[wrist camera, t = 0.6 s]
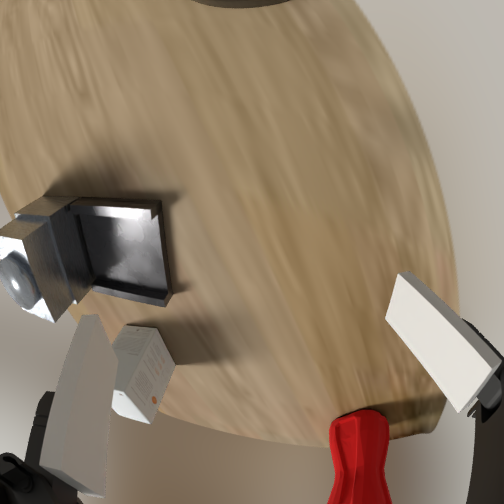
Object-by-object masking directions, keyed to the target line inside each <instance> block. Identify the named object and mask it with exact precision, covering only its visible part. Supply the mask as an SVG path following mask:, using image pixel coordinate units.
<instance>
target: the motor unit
mask: <svg viewBox="0 0 504 504" xmlns="http://www.w3.org/2000/svg"><path fill="white" fill-rule="evenodd" d="M14 214H15V219H14V220H12V221H11V222H9V223H8V224H7V225H5V226H4V227H2V228H1V229H0V258H1V261H0V279H1V281H2V284H3V285H4V287H5V289H6V290H7V292H8V294H9V295H10V296H11V297H12V299H13V300H14V301H15V302H16V303H17V304H18V305H20V306H21V307H22V309H24V310H26V311H28V312H30V313H33V314H35V315H37V316H39V317H42V318H44V319H46V320H48V321H51V322H53V323H55V322H56V321H57V320H58V319H59V318H60V317H61V315H62V314H63V313H64V312H65V311H66V309H67V308H68V307H69V306H70V305H71V304H72V303H74V304H78V303H79V302H80V301H81V300H82V298H83V297H84V296H85V295H86V294H87V293H88V292H89V291H90V289H91V288H92V290H93V291H95V292H99V293H103V294H107V295H111V296H115V297H119V298H124V299H128V300H132V301H137V302H141V303H146V304H151V305H155V306H160V307H166V306H167V304H168V302H169V300H170V299H171V297H172V295H173V292H172V286H171V279H170V272H169V265H168V258H167V250H166V242H165V233H164V224H163V214H162V203H161V201H160V200H143V199H123V198H99V197H82V198H79V197H62V196H42V197H40V198H38V199H37V200H35V201H33V202H32V203H30V204H28V205H27V206H25V207H24V208H22V209H20V210H19V211H17V212H16V213H14Z"/></svg>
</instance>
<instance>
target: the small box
mask: <svg viewBox="0 0 504 504" xmlns="http://www.w3.org/2000/svg"><path fill="white" fill-rule="evenodd" d="M112 348H113V350H114V352H115V354H116V356H117V358H118V361H119V362H118V367H117V373H116V379H115V386H114V393H113V400H112V408H113V409H114V410H115V411H116V413H117V414H118V415H121V416H124V417H127V418H130V419H134V420H137V421H141V422H145V423H148V424H152V422H153V420H154V417H155V415H156V412H157V410H158V407H159V405H160V402H161V400H162V398H163V395H164V393H165V390H166V388H167V385H168V383H169V381H170V378H171V376H172V373H173V371H174V369H175V366H176V365H175V363H174V361H173V359H172V357H171V355H170V353H169V352H168V350H167V348H166V346H165V344H164V342H163V340H162V338H161V336H160V334H159V331H158V329H157V328H149V327H138V326H128V325H124V326H123V328H122V330H121V331H120V333H119V334H118V336H117V337H116V339H115V341H114V342H113V344H112Z"/></svg>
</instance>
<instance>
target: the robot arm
mask: <svg viewBox="0 0 504 504" xmlns="http://www.w3.org/2000/svg"><path fill="white" fill-rule="evenodd" d="M193 1H195V2H198V3H201V4H205V5H209V6H215V7H223V8H253V7H262V6H268V5H273V4H277V3H281V2H285V1H288V0H193ZM385 319H386V320H387V322H388V323H389V324H390V325H391V326H392V328H393V329H394V330H395V331H396V333H397V334H398V335H399V336H400V337H401V339H402V340H403V341H404V342H405V344H406V345H407V346H408V347H409V349H410V350H411V351H412V352H413V354H414V355H415V356H416V358H417V359H418V360H419V361H420V363H421V364H422V365H423V367H424V368H425V369H426V370H427V372H428V373H429V374H430V376H431V377H432V378H433V380H434V381H435V382H436V384H437V385H438V386H439V388H440V389H441V390H442V392H443V393H444V394H445V396H446V397H447V398H448V400H449V401H450V403H451V404H452V405H453V407H454V408H455V409H456V411H457V412H458V413H459V412H461V411H462V410H464V409H465V408H466V407H467V406H469V405H470V404H471V403H472V401H473V400H474V399H475V398H476V397H477V398H478V399H479V400H478V401H477V402H476V403H475V405H474V406H473V407H472V408H471V409H470V410H469V412H468V414H467V417H469V416H470V415H471V414H472V413H473V412H474V411H475V410H476V411H475V413H474V414H473V415H472V417H473V418H476V420H475V444H474V456H473V464H472V473H471V479H470V486H469V491H468V497H467V502H466V504H504V357H503V356H502V355H501V354H500V353H499V352H498V351H497V350H496V348H494V346H493V345H492V344H491V343H490V342H489V341H488V340H487V339H485V338H484V336H483V335H482V334H481V333H479V331H478V330H477V329H476V328H475V327H474V326H473V325H472V324H471V323H469V322H468V321H466V320H464V319H461V318H460V317H459V316H458V315H457V314H456V313H455V312H454V311H453V310H452V309H451V308H450V307H449V306H448V305H447V304H446V303H445V302H444V301H443V300H441V299H440V298H439V297H438V296H437V295H436V294H435V293H434V292H433V291H432V290H431V289H429V288H428V287H427V286H426V285H425V284H424V283H423V282H422V281H420V280H419V279H418V278H417V277H416V276H415V275H414V274H412V273H411V272H410V271H407V272H402V273H398V275H397V279H396V283H395V287H394V290H393V294H392V297H391V301H390V304H389V308H388V311H387V314H386V317H385ZM118 362H119V361H118V358H117V356H116V354H115V352H114V350H113V348H112V346H111V343H110V341H109V339H108V337H107V334H106V332H105V330H104V327H103V325H102V322H101V320H100V318H99V315H98V314H93V315H82V317H81V319H80V322H79V324H78V327H77V329H76V332H75V334H74V337H73V340H72V342H71V345H70V348H69V351H68V354H67V357H66V360H65V362H64V365H63V369H62V372H61V375H60V378H59V381H58V385H57V388H56V391H55V392H50V391H46V393H45V394H44V395H43V397H42V398H41V399H40V401H39V403H38V407H37V411H36V416H35V417H34V421H33V426H32V429H31V433H30V437H29V442H28V447H27V452H26V457H25V461H24V462H23V461H22V460H21V459H19V458H18V457H17V456H15V455H14V454H12V453H7V452H6V453H3V454H1V455H0V504H83V503H82V501H81V500H80V499H79V498H78V497H77V491H80V492H81V493H83V494H85V495H88V496H94V497H101V498H105V488H106V486H105V484H106V461H107V446H108V435H109V425H110V416H111V407H112V400H113V393H114V386H115V379H116V373H117V367H118Z"/></svg>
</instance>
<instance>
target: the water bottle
mask: <svg viewBox="0 0 504 504" xmlns="http://www.w3.org/2000/svg"><path fill="white" fill-rule="evenodd" d="M329 442H330V449H331V454H332V459H333V464H334V468H335V481H334V486H333V488H332V491H331V495H330V497H329V500H328V503H327V504H392V501H391V498H390V494H389V490H388V486H387V483H386V480H385V472H384V466H385V461H386V455H387V451H388V445H389V424H388V422H387V419H386V418H385V416H382V415H381V414H380V413H379V412H377V411H374V410H360V411H357V412H354V413H352V414H349V415H346V416H343V417H340V418H337V419H335V420H334V421H333V422H332V423H331V426H330V429H329Z"/></svg>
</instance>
